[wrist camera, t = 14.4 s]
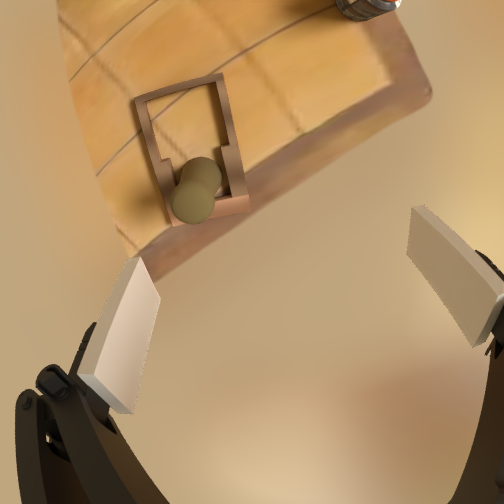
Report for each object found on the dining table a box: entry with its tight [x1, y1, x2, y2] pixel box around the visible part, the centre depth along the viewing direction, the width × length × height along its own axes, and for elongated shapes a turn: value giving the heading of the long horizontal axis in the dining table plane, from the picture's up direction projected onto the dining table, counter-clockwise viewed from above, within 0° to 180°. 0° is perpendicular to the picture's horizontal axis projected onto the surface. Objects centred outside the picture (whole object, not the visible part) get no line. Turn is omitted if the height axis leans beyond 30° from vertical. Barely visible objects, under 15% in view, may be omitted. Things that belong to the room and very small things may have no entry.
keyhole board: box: [134, 73, 251, 226], centre depth 37 cm, size 20×12×2 cm, turn 11°
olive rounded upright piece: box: [170, 157, 222, 224], centre depth 35 cm, size 6×6×11 cm
